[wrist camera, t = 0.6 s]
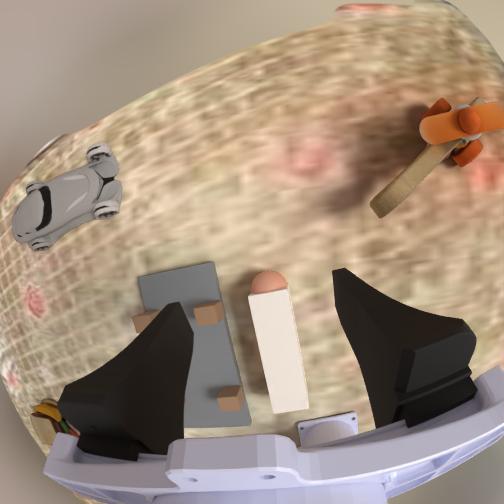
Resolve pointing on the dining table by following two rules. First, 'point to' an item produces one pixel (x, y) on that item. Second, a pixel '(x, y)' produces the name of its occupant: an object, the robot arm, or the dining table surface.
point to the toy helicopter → (442, 145)
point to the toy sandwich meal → (50, 422)
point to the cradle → (200, 344)
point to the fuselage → (278, 342)
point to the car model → (68, 200)
